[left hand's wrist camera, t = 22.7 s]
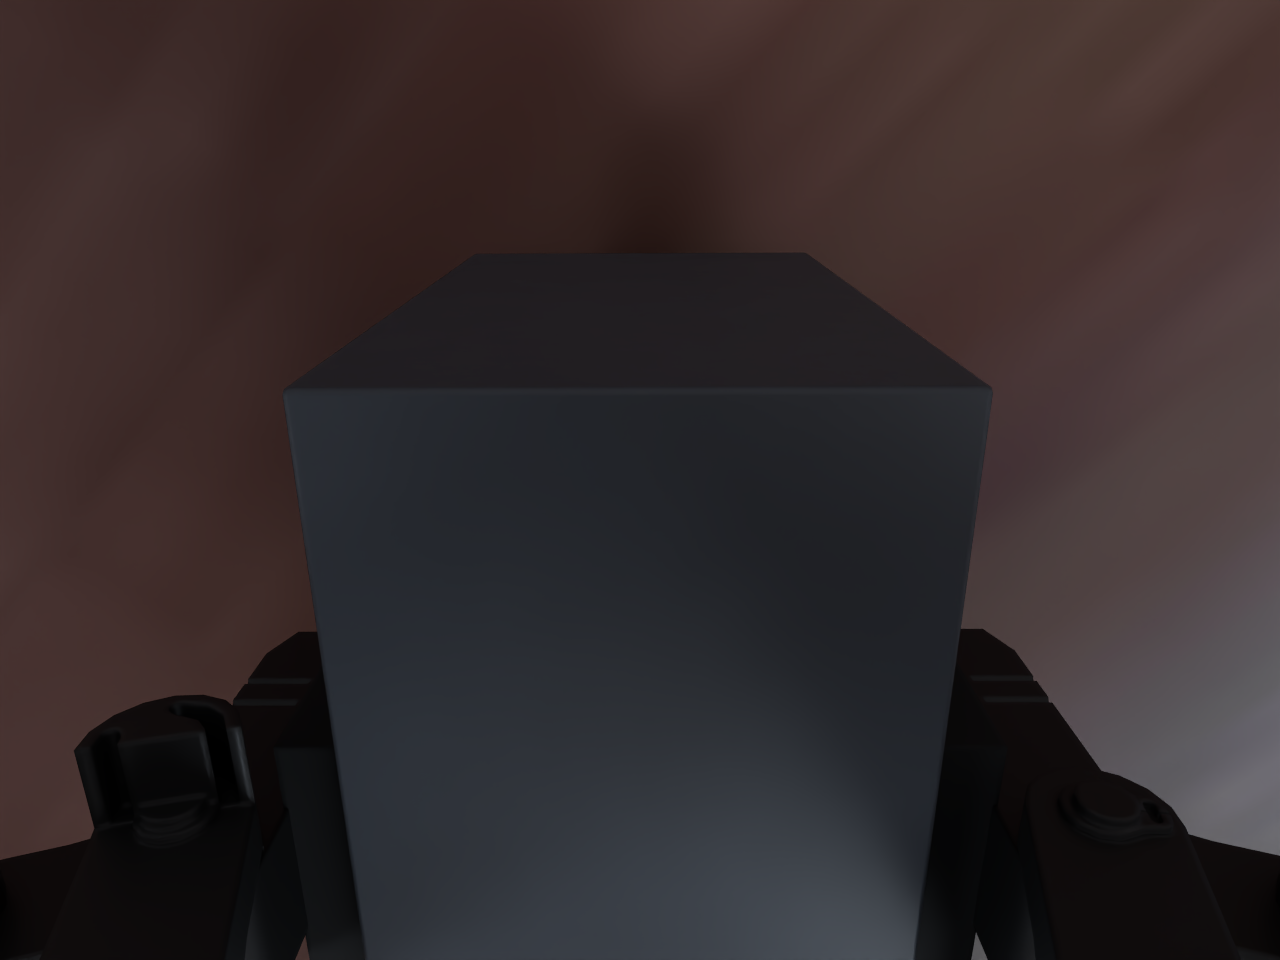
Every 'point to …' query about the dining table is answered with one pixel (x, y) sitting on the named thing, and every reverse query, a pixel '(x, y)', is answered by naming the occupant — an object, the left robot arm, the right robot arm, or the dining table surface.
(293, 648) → the left robot arm
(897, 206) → the dining table surface
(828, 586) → the post
